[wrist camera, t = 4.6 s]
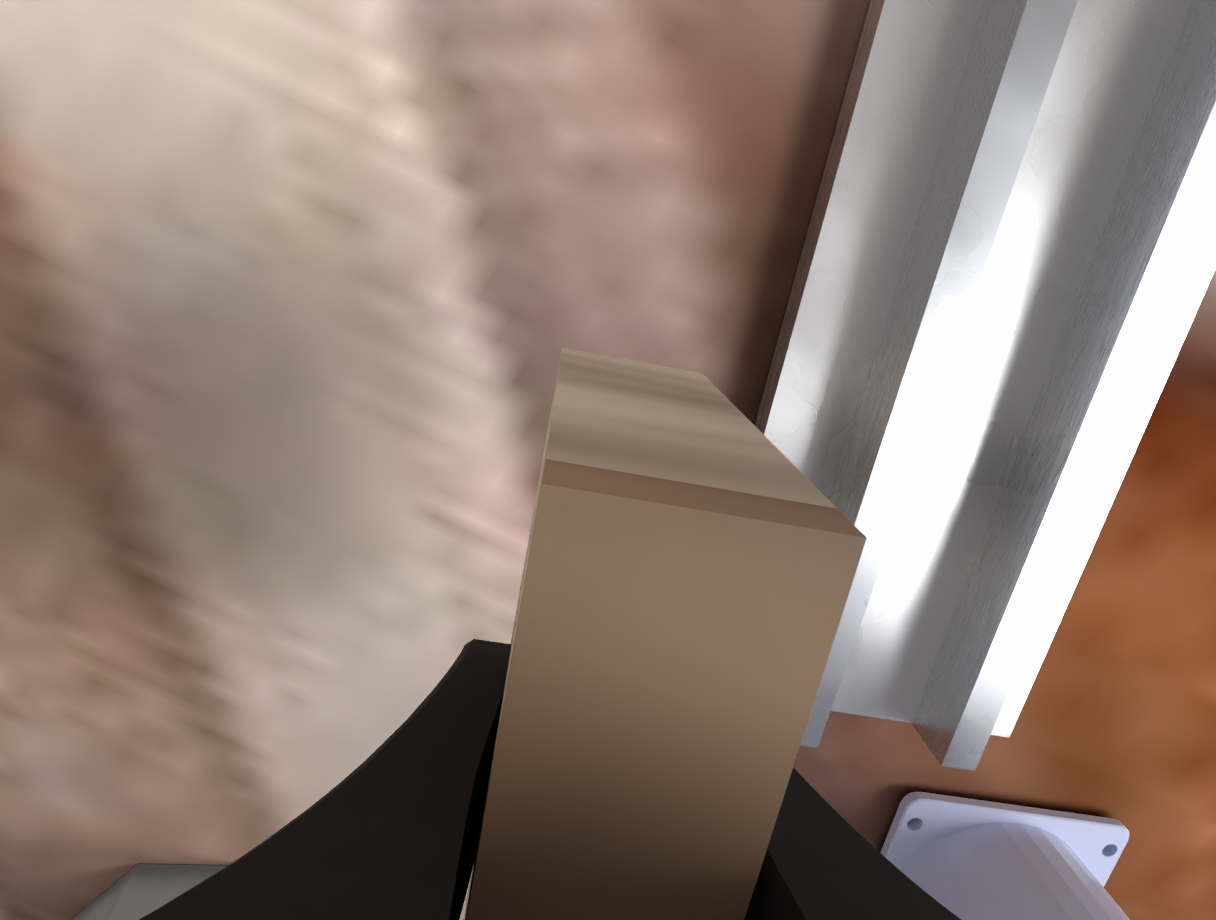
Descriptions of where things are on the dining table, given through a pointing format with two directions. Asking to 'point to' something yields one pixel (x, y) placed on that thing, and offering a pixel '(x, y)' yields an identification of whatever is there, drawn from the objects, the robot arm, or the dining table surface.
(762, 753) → the door panel
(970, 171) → the track
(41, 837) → the dining table surface
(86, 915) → the coffee maker
